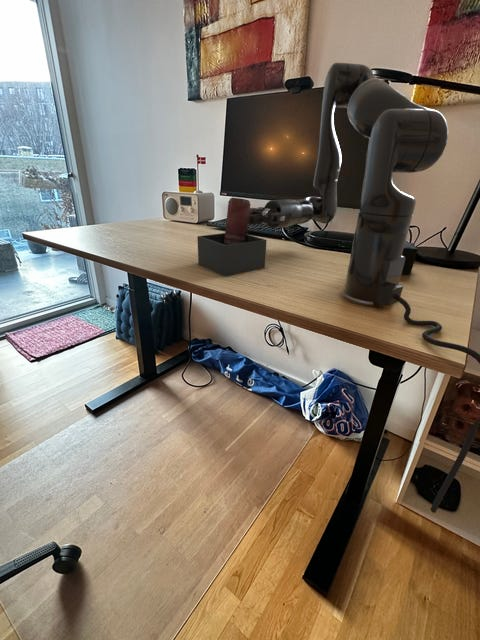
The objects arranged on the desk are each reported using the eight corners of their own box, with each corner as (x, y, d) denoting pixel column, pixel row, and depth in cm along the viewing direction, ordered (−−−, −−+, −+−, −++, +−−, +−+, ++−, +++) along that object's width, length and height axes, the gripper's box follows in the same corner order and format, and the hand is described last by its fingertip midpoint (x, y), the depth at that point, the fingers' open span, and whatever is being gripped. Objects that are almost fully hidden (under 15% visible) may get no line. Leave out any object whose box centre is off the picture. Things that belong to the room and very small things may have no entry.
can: (218, 249, 84) (223, 196, 81) (231, 250, 89) (237, 201, 86) (235, 251, 81) (242, 197, 77) (248, 253, 86) (255, 202, 83)
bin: (264, 267, 82) (266, 239, 78) (225, 276, 74) (225, 245, 71) (236, 257, 91) (236, 231, 88) (198, 263, 84) (197, 236, 80)
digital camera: (415, 275, 79) (423, 248, 76) (393, 273, 80) (400, 247, 77) (404, 264, 88) (411, 240, 85) (384, 263, 89) (390, 239, 86)
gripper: (267, 197, 90) (223, 200, 81) (302, 201, 80) (256, 205, 71) (265, 223, 94) (223, 228, 85) (300, 230, 84) (255, 237, 75)
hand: (238, 217), depth 78 cm, fingers open, 8 cm apart
